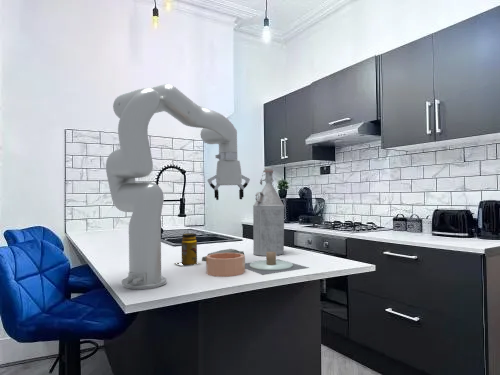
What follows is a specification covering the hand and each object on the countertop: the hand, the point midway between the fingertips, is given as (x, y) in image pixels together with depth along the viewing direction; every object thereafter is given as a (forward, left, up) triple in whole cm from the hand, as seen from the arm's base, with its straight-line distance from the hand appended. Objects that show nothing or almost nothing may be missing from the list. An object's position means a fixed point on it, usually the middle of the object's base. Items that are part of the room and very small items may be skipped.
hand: (229, 199), depth 143 cm
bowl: (-20, -4, -25) cm, 33 cm away
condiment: (-7, +16, -26) cm, 31 cm away
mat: (-8, -18, -25) cm, 32 cm away
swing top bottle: (+20, -12, -26) cm, 35 cm away
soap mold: (+9, +6, -26) cm, 28 cm away
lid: (-8, -18, -25) cm, 32 cm away
